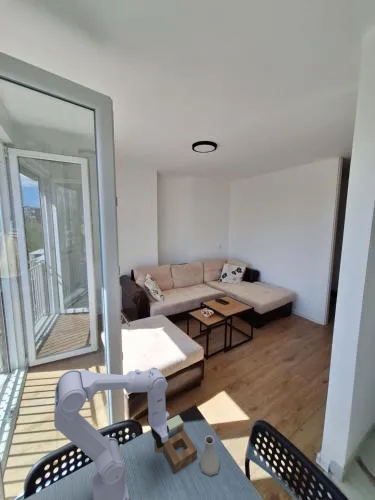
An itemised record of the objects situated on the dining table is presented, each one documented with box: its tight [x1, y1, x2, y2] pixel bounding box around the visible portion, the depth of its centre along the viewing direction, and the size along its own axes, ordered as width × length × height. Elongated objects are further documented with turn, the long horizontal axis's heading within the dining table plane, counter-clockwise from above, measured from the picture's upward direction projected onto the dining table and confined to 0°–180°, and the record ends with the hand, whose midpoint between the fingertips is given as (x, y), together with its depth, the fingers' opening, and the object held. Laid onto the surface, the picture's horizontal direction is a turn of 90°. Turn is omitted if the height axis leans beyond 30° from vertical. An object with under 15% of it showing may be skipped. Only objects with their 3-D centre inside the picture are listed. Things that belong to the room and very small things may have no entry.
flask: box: [198, 434, 221, 477], centre depth 76 cm, size 7×7×10 cm
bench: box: [167, 414, 185, 433], centre depth 86 cm, size 9×4×6 cm, turn 121°
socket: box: [163, 429, 198, 474], centre depth 80 cm, size 9×9×4 cm
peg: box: [153, 438, 164, 454], centre depth 76 cm, size 3×3×8 cm
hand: (158, 441), depth 76 cm, fingers closed on peg, 3 cm apart
